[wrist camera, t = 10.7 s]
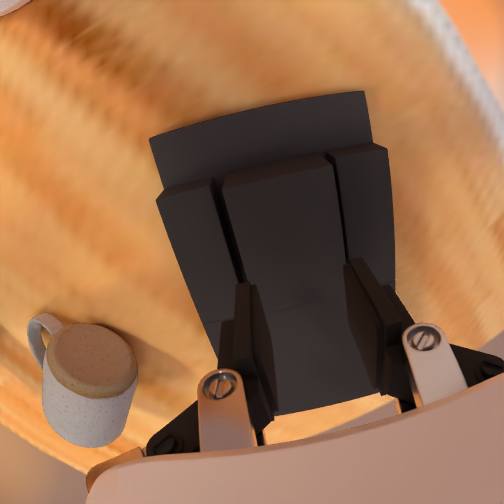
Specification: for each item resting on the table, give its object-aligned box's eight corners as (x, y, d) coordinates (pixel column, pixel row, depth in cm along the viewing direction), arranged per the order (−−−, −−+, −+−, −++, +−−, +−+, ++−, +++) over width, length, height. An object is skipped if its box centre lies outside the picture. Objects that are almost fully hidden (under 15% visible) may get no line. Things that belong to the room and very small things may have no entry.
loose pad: (225, 171, 17) (221, 189, 14) (316, 151, 17) (332, 164, 13) (255, 280, 20) (257, 314, 17) (333, 263, 20) (349, 294, 17)
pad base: (152, 137, 17) (136, 144, 14) (359, 90, 16) (378, 90, 13) (246, 395, 26) (246, 420, 24) (379, 366, 25) (388, 389, 23)
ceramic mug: (152, 338, 23) (126, 418, 16) (134, 394, 26) (114, 462, 19) (35, 285, 21) (-17, 346, 14) (36, 350, 24) (0, 407, 18)
